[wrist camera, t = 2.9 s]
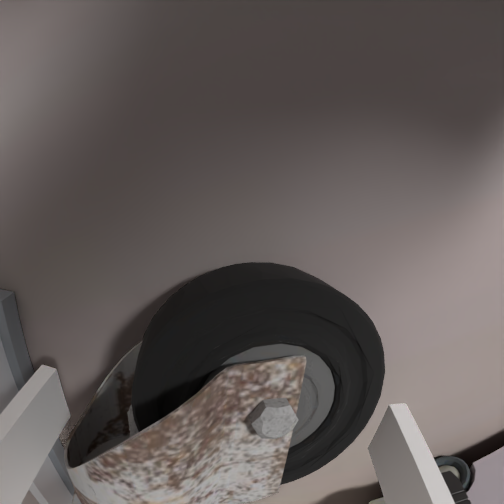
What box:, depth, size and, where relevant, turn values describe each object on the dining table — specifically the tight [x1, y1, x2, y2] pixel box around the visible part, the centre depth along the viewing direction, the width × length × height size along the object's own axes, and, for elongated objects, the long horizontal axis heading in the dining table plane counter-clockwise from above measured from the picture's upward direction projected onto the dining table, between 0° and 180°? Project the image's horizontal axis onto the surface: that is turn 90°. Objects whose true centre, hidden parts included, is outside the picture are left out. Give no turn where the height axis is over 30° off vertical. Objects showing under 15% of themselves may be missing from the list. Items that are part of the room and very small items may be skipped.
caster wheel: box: [64, 262, 385, 504], centre depth 10 cm, size 7×11×10 cm
